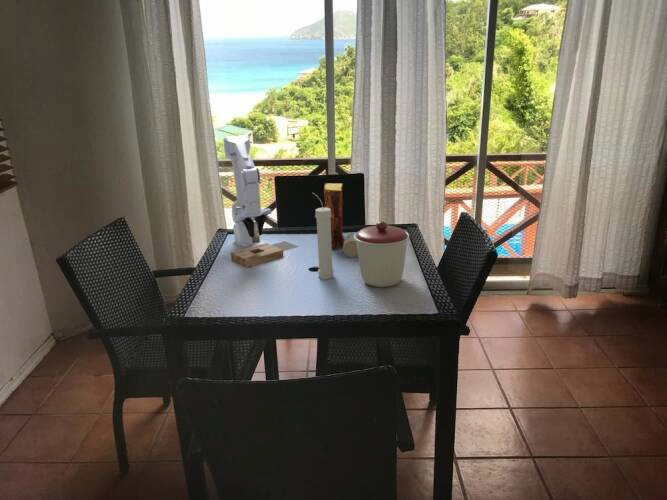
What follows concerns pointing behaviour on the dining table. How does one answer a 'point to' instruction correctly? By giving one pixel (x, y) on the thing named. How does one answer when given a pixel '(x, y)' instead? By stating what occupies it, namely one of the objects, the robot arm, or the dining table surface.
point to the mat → (285, 245)
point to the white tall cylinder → (324, 242)
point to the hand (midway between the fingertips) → (255, 235)
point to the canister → (381, 254)
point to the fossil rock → (335, 212)
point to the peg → (256, 232)
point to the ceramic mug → (350, 246)
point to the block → (256, 254)
